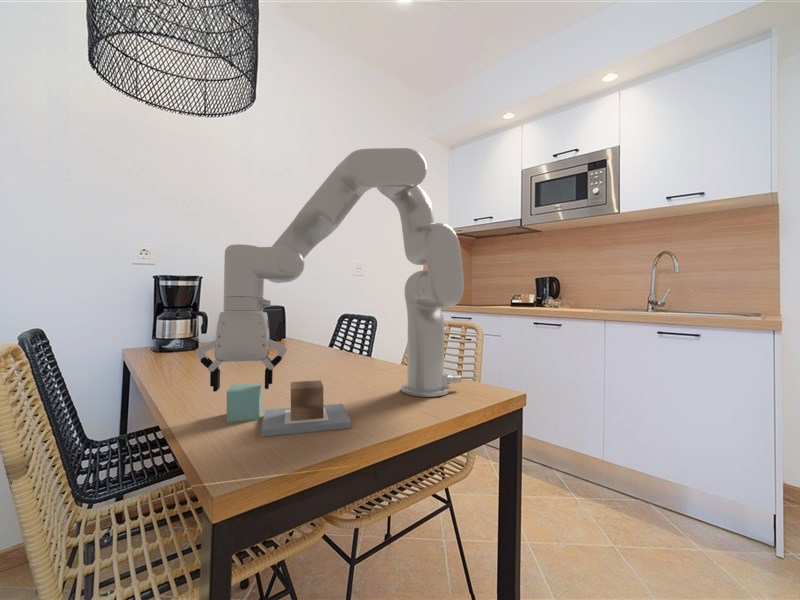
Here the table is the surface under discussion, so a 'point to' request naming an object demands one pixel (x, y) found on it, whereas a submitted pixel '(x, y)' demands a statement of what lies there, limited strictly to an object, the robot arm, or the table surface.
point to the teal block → (244, 402)
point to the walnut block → (306, 400)
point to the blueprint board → (304, 421)
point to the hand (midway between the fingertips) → (242, 388)
